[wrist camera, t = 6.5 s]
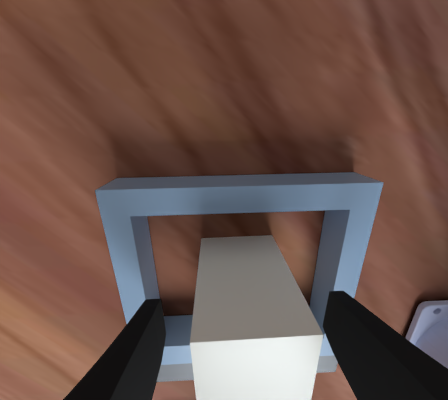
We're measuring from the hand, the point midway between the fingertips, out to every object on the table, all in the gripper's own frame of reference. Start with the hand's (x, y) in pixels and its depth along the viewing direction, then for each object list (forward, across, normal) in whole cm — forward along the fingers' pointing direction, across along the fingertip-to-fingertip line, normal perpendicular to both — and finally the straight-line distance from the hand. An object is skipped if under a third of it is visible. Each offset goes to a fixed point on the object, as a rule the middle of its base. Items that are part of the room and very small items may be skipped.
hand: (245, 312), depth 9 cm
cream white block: (+4, 0, 0) cm, 4 cm away
